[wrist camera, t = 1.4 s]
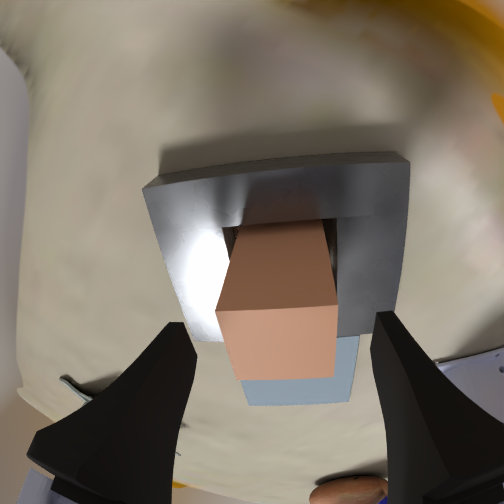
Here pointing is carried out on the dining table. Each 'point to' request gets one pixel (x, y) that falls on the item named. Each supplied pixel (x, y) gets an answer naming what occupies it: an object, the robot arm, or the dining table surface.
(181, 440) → the dining table surface
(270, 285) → the square peg
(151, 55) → the dining table surface
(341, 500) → the ceramic jug
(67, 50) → the dining table surface
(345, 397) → the rubber mat
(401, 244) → the socket plate
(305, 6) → the dining table surface
